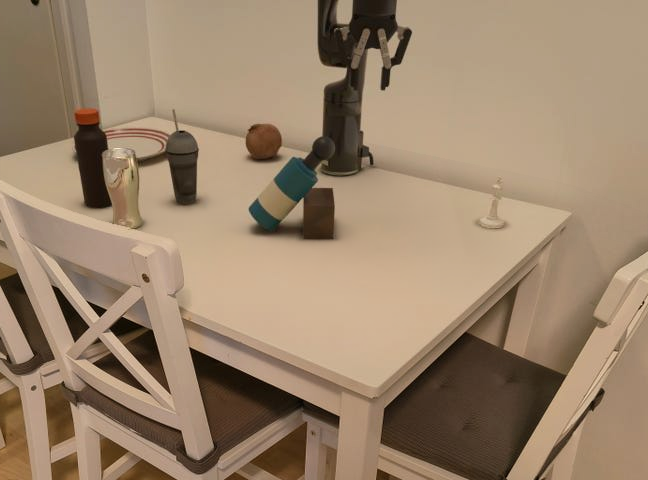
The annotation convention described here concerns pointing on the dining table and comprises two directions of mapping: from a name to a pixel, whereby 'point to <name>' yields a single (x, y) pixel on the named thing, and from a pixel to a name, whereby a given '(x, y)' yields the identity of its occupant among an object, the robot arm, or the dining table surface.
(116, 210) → the beer glass
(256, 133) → the onion
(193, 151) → the beverage cup
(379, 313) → the dining table surface
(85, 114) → the vinegar
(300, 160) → the striped banded cylinder
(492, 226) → the chess piece
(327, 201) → the walnut block
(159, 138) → the dinner plate
